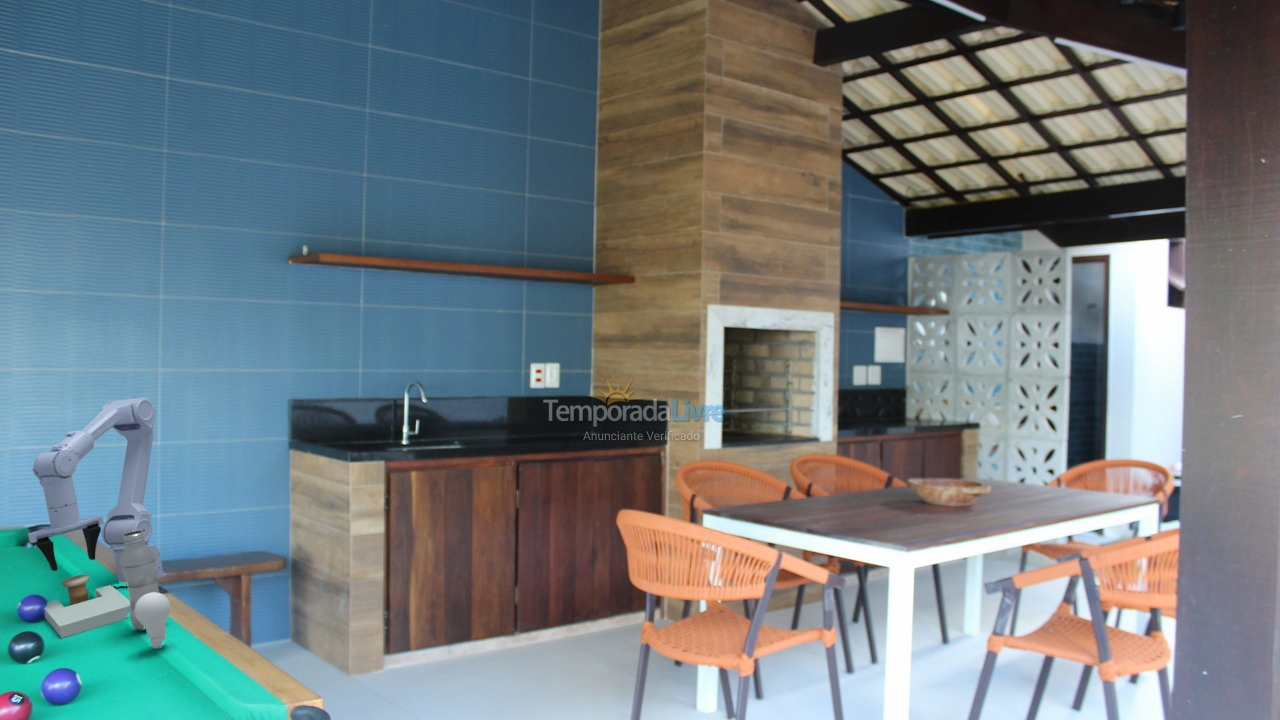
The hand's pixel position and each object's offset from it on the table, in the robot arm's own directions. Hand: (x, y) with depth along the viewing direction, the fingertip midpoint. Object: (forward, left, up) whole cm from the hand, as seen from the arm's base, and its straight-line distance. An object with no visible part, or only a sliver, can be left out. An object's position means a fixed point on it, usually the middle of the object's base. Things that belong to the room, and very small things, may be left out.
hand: (73, 564), depth 219 cm
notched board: (-6, +4, -10) cm, 12 cm away
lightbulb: (-40, +21, -10) cm, 46 cm away
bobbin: (0, 0, -10) cm, 10 cm away
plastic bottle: (-29, +11, -10) cm, 32 cm away
